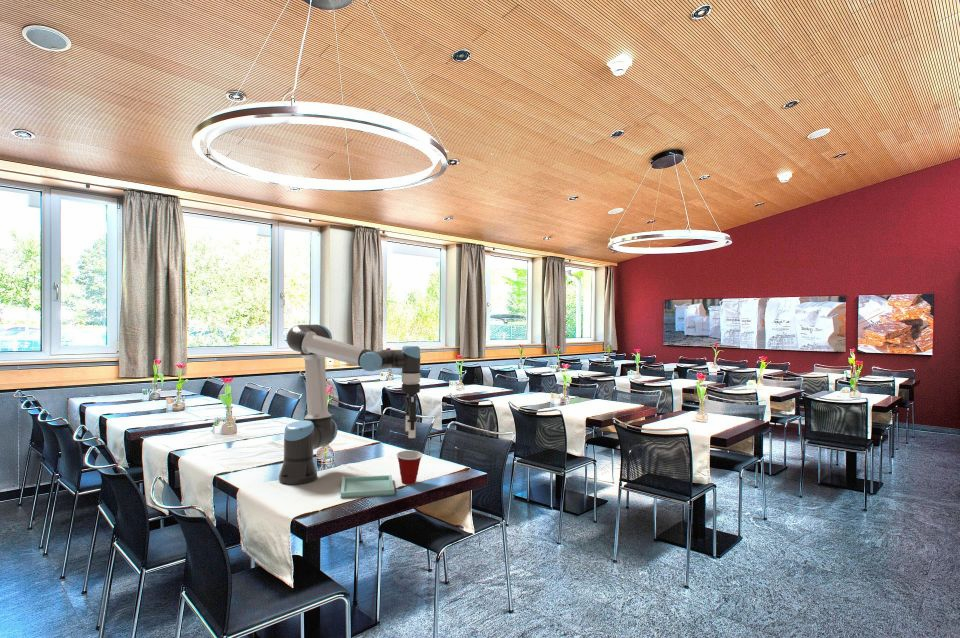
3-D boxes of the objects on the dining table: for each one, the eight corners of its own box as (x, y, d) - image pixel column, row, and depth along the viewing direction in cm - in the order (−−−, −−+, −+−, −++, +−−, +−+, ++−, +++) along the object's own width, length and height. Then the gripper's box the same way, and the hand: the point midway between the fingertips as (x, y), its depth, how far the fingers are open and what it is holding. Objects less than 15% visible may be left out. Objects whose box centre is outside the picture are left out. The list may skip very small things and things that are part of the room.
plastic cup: (400, 487, 212) (401, 458, 212) (392, 480, 221) (392, 451, 221) (426, 484, 217) (426, 455, 217) (416, 477, 226) (417, 449, 226)
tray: (340, 498, 198) (340, 492, 198) (342, 482, 218) (342, 477, 218) (394, 495, 203) (394, 489, 203) (391, 479, 222) (391, 474, 222)
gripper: (423, 386, 208) (423, 440, 208) (416, 379, 232) (416, 428, 232) (404, 386, 206) (403, 441, 206) (399, 380, 231) (398, 428, 230)
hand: (410, 434), depth 219 cm, fingers open, 13 cm apart
